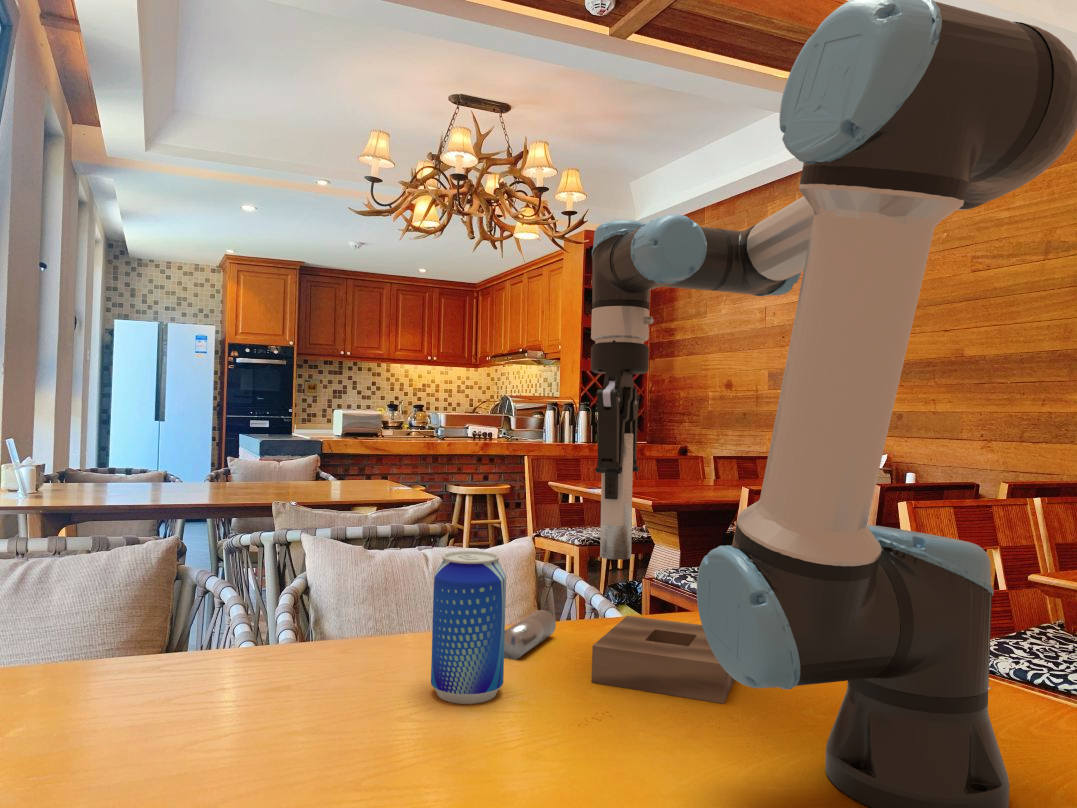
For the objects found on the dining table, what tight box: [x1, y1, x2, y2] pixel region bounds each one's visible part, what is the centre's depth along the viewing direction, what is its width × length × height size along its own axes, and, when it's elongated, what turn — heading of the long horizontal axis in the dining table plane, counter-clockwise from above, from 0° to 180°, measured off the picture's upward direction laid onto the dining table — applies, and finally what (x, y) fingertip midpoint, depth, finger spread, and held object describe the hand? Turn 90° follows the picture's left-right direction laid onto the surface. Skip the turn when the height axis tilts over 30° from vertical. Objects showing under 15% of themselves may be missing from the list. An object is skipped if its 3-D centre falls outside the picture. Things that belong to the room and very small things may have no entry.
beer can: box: [430, 550, 507, 705], centre depth 93 cm, size 8×8×16 cm
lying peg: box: [504, 609, 557, 660], centre depth 112 cm, size 12×4×4 cm
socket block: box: [591, 615, 736, 705], centre depth 103 cm, size 16×16×4 cm
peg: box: [599, 433, 634, 560], centre depth 104 cm, size 4×4×16 cm
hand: (616, 522), depth 104 cm, fingers closed on peg, 4 cm apart
